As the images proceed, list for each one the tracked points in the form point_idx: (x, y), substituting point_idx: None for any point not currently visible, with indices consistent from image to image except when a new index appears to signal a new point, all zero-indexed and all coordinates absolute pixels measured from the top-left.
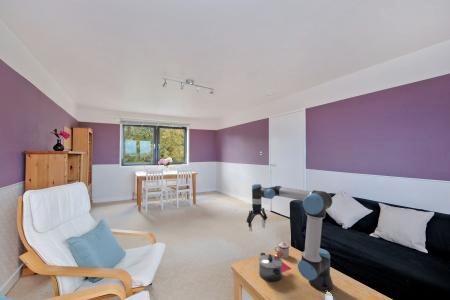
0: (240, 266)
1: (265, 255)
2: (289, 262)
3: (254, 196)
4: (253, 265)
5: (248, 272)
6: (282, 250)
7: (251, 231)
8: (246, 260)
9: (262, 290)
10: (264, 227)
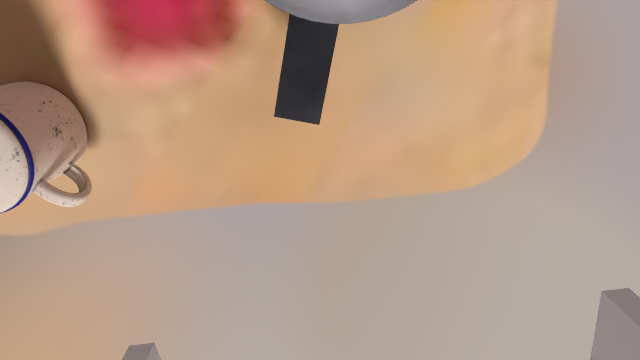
0: (495, 133)
1: (329, 2)
2: (40, 6)
3: None
4: (389, 103)
5: (490, 28)
6: (23, 115)
7: (621, 292)
8: (400, 189)
9: None
10: (141, 357)
